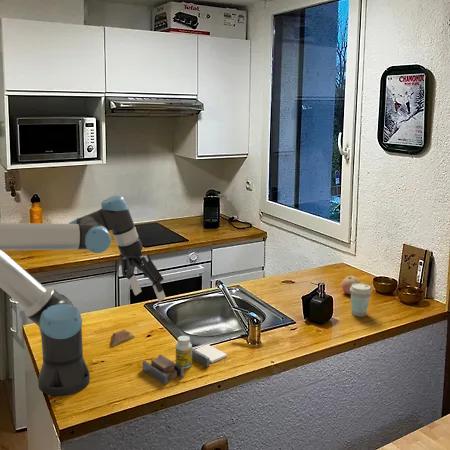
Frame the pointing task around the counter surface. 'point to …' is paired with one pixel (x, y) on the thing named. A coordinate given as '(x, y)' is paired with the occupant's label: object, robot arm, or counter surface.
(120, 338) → the shard
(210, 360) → the pad
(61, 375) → the robot arm
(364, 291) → the coffee cup
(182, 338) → the supplement bottle
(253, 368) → the counter surface
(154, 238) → the counter surface
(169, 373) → the offcut lower
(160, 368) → the offcut upper
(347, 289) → the fruit
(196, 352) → the grey cradle
